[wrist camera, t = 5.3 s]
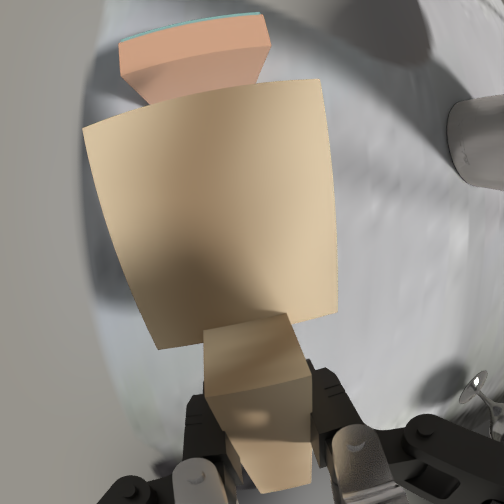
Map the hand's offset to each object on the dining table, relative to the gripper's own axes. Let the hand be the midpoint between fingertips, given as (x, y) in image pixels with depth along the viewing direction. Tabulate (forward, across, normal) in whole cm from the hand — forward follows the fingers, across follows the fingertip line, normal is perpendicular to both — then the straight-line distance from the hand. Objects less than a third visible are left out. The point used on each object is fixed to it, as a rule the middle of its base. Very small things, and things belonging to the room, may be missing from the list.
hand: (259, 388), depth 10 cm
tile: (+8, 0, -14) cm, 17 cm away
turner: (+1, 0, -2) cm, 3 cm away
